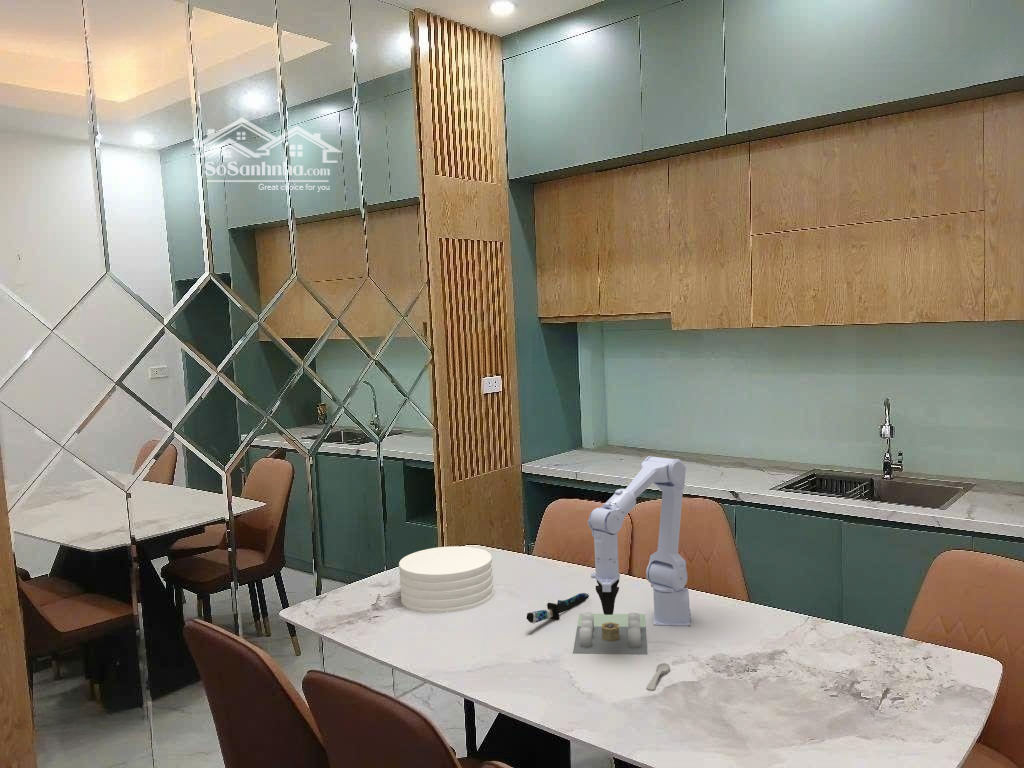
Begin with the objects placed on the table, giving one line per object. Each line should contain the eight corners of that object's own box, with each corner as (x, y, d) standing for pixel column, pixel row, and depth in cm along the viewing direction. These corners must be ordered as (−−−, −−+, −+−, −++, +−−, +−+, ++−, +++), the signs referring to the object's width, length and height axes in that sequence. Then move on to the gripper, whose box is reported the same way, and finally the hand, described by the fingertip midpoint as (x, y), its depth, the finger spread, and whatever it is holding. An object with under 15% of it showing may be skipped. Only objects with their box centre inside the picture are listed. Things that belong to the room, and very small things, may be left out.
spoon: (672, 669, 178) (671, 661, 177) (656, 696, 167) (656, 687, 167) (659, 667, 179) (659, 659, 179) (643, 693, 169) (643, 685, 168)
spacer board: (645, 614, 211) (644, 599, 211) (647, 655, 185) (646, 638, 185) (579, 614, 214) (578, 599, 213) (572, 654, 188) (572, 637, 188)
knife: (530, 630, 200) (530, 613, 200) (520, 628, 202) (521, 610, 202) (596, 606, 224) (597, 591, 224) (587, 604, 226) (588, 589, 226)
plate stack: (443, 576, 253) (441, 542, 253) (511, 589, 237) (510, 553, 236) (381, 603, 231) (379, 565, 230) (453, 620, 214) (450, 580, 214)
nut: (619, 633, 199) (619, 621, 198) (619, 641, 194) (618, 629, 193) (602, 633, 199) (602, 621, 199) (601, 641, 194) (601, 629, 194)
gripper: (591, 548, 197) (593, 600, 198) (588, 566, 182) (591, 621, 183) (619, 548, 196) (621, 600, 197) (618, 566, 181) (621, 622, 182)
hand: (608, 610), depth 190 cm, fingers open, 4 cm apart
